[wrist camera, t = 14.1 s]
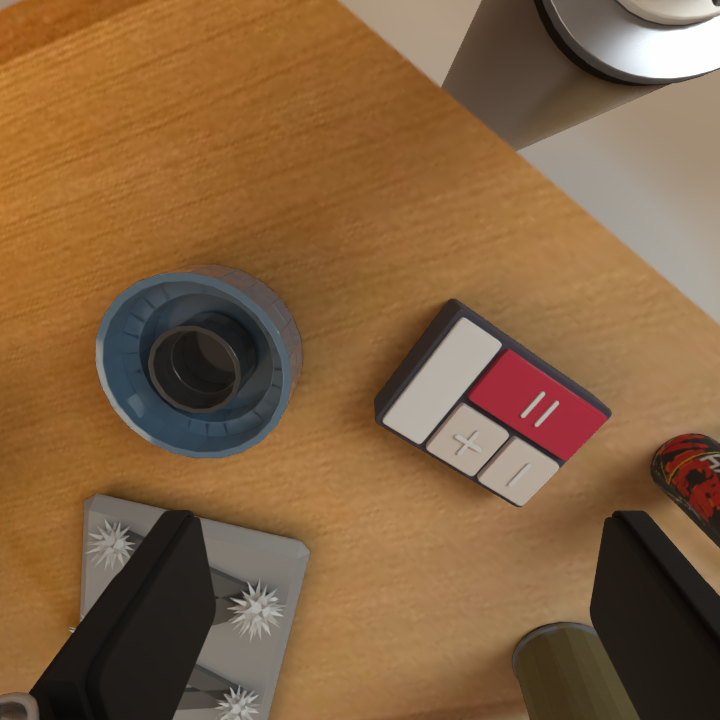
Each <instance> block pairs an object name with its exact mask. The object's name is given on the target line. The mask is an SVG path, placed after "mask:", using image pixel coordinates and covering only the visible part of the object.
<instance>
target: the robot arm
mask: <svg viewBox="0 0 720 720" xmlns="http://www.w3.org/2000/svg"><path fill="white" fill-rule="evenodd" d="M617 1H619V2H620V3H621V4H622V5H623V6H624V7H625V8H626V9H627V10H629V11H630V12H632V13H634V14H636V15H638V16H639V17H641V18H643V19H645V20H648V21H652V22H656V23H660V24H664V25H686V24H691V23H696V22H701V21H706V20H708V19H711V18H713V17H715V16H718V15H720V0H617ZM215 613H216V599H215V594H214V589H213V584H212V578H211V573H210V568H209V562H208V557H207V552H206V547H205V541H204V536H203V531H202V525H201V521H200V518H199V517H194V515H193V513H192V511H189V510H167V511H165V512H164V513H163V514H162V515H161V516H160V518H159V519H158V520H157V522H156V523H155V524H154V526H153V527H152V529H151V530H150V531H149V533H148V534H147V535H146V537H145V538H144V540H143V541H142V542H141V544H140V545H139V546H138V548H137V549H136V551H135V552H134V553H133V555H132V556H131V557H130V559H129V560H128V562H127V563H126V564H125V566H124V567H123V568H122V570H121V571H120V572H119V573H118V574H117V575H116V576H115V577H114V578H113V579H112V580H111V582H110V583H109V584H108V586H107V587H106V589H105V590H104V591H103V593H102V594H101V595H100V597H99V598H98V599H97V601H96V602H95V604H94V605H93V606H92V608H91V609H90V610H89V612H88V613H87V614H86V616H85V617H84V619H83V620H82V621H81V623H80V624H79V625H78V627H77V628H76V629H75V631H74V632H73V633H72V635H71V636H70V638H69V639H68V640H67V642H66V643H65V644H64V646H63V647H62V648H61V650H60V651H59V653H58V654H57V655H56V657H55V658H54V659H53V661H52V662H51V663H50V665H49V666H48V668H47V669H46V670H45V672H44V673H43V674H42V676H41V677H40V678H39V680H38V681H37V682H36V684H35V685H34V687H33V688H32V689H31V691H30V692H29V693H22V692H13V693H8V694H2V695H0V720H173V717H174V715H175V712H176V710H177V708H178V705H179V703H180V700H181V698H182V695H183V693H184V691H185V688H186V686H187V683H188V681H189V679H190V676H191V674H192V671H193V669H194V667H195V664H196V662H197V659H198V657H199V655H200V652H201V650H202V647H203V645H204V642H205V640H206V638H207V635H208V633H209V630H210V628H211V626H212V623H213V621H214V618H215ZM590 616H591V620H592V624H593V626H594V628H595V630H596V632H597V634H598V636H599V638H600V640H601V642H602V644H603V646H604V648H605V650H606V652H607V654H608V656H609V658H610V660H611V662H612V664H613V666H614V668H615V670H616V672H617V674H618V676H619V678H620V680H621V682H622V684H623V686H624V688H625V690H626V692H627V694H628V696H629V698H630V700H631V702H632V704H633V706H634V708H635V710H636V712H637V714H638V716H639V718H640V720H720V596H719V595H718V594H717V593H716V592H715V590H714V589H713V588H712V587H711V586H710V585H709V584H708V583H707V582H706V581H705V580H704V579H703V577H702V576H701V575H700V574H699V573H698V572H697V570H696V569H695V568H694V567H693V566H692V565H691V563H690V562H689V561H688V560H687V559H686V558H685V557H684V555H683V554H682V553H681V552H680V551H679V550H678V548H677V547H676V546H675V545H674V544H673V543H672V541H671V540H670V539H669V538H668V537H667V536H666V535H665V533H664V532H663V531H662V530H661V529H660V528H659V526H658V525H657V524H656V523H655V522H654V521H653V519H652V518H651V517H650V516H649V515H648V514H647V513H646V512H644V511H614V513H613V514H612V517H608V518H606V519H605V522H604V527H603V533H602V539H601V545H600V551H599V557H598V563H597V569H596V575H595V580H594V586H593V592H592V598H591V604H590Z"/></svg>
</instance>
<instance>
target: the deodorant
mask: <svg viewBox="0 0 720 720" xmlns="http://www.w3.org/2000/svg"><path fill="white" fill-rule="evenodd" d="M651 475H652V478H653V480H654V482H655V483H656V484H657V485H658V486H659V487H660V488H661V489H662V490H663V491H664V492H665V493H666V494H667V495H668V496H669V497H670V498H671V499H672V500H673V501H674V502H675V503H676V504H677V505H678V506H679V507H680V508H681V509H682V510H683V511H684V512H685V514H686V515H687V516H688V517H689V518H690V519H691V520H692V521H693V522H694V523H695V524H696V525H697V526H698V527H699V528H700V529H701V530H702V531H703V532H704V533H705V534H706V535H707V536H708V537H709V538H710V539H711V540H712V541H713V542H714V543H715V544H716V545H717V546H718V547H719V548H720V443H718V442H717V441H715V440H714V439H712V438H710V437H709V436H705V435H702V434H686V435H681V436H678V437H676V438H673V439H671V440H670V441H668V442H667V443H665V444H664V445H663V446H662V447H661V448H660V449H659V450H658V451H657V452H656V454H655V456H654V457H653V459H652V463H651Z"/></svg>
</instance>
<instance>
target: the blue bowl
mask: <svg viewBox="0 0 720 720" xmlns="http://www.w3.org/2000/svg"><path fill="white" fill-rule="evenodd" d="M203 313H217V314H220V315H223V316H226V317H228V318H231V319H233V320H234V321H236V322H237V323H238V324H239V325H240V326H241V327H243V328H244V329H245V330H246V332H247V333H248V335H249V337H250V339H251V341H252V342H253V344H254V347H255V355H256V364H255V367H254V370H253V374H252V376H251V377H250V379H249V380H248V381H247V382H246V384H245V385H244V386H243V387H242V389H241V390H240V391H239V393H238V394H237V395H236V396H235V397H234V398H233V399H232V401H231V402H230V403H229V404H228V405H227V406H226V407H224V408H221V409H219V410H217V411H214V412H212V413H191V412H188V411H185V410H182V409H179V408H176V407H175V406H173V405H172V404H171V403H170V402H168V401H167V400H166V399H165V398H163V397H162V396H161V395H160V393H159V392H158V390H157V389H156V387H155V385H154V384H153V382H152V380H151V377H150V372H149V367H148V360H149V355H150V351H151V347H152V345H153V344H154V343H155V341H156V340H157V339H158V338H159V336H160V335H161V334H162V333H164V332H165V331H167V330H169V329H171V328H172V327H174V326H176V325H178V324H180V323H181V322H183V321H185V320H187V319H189V318H191V317H193V316H195V315H197V314H203ZM95 363H96V367H97V371H98V376H99V380H100V384H101V386H102V388H103V390H104V392H105V394H106V396H107V398H108V400H109V402H110V404H111V406H112V407H113V409H114V410H115V411H116V413H117V414H118V415H119V416H120V417H121V418H122V420H123V421H124V422H125V423H126V424H127V425H128V426H129V427H130V428H131V429H132V430H133V431H135V432H136V433H137V434H139V435H140V436H141V437H143V438H144V439H145V440H147V441H148V442H150V443H152V444H154V445H156V446H158V447H160V448H162V449H164V450H167V451H169V452H171V453H174V454H178V455H183V456H187V457H192V458H223V457H227V456H231V455H234V454H238V453H242V452H244V451H245V450H247V449H249V448H251V447H252V446H254V445H256V444H258V443H259V442H261V441H262V440H263V439H264V438H265V437H266V436H267V435H268V434H269V433H270V432H271V431H272V430H273V429H274V428H275V427H276V426H277V424H278V422H279V420H280V419H281V417H282V415H283V413H284V411H285V409H286V407H287V405H288V403H289V401H290V399H291V397H292V395H293V393H294V391H295V389H296V387H297V385H298V383H299V379H300V374H301V369H302V364H303V354H302V342H301V337H300V334H299V332H298V329H297V326H296V323H295V321H294V318H293V316H292V315H291V313H290V312H289V310H288V309H287V307H286V306H285V304H284V303H283V302H282V300H281V299H280V298H279V296H278V295H277V294H275V293H274V292H273V291H272V290H271V289H270V288H269V287H267V286H266V285H265V284H264V283H263V282H262V281H260V280H258V279H256V278H254V277H252V276H251V275H249V274H247V273H245V272H243V271H241V270H239V269H235V268H231V267H227V266H222V265H218V264H198V265H189V266H185V267H182V268H179V269H175V270H172V271H168V272H165V273H161V274H158V275H155V276H152V277H149V278H146V279H143V280H140V281H138V282H136V283H135V284H133V285H132V286H131V287H129V288H128V289H126V290H125V291H124V292H122V293H121V294H119V295H118V296H117V297H116V299H115V300H114V301H113V303H112V304H111V306H110V307H109V308H108V310H107V311H106V312H105V314H104V316H103V318H102V321H101V324H100V327H99V330H98V333H97V336H96V354H95Z"/></svg>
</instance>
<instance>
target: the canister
mask: <svg viewBox="0 0 720 720" xmlns="http://www.w3.org/2000/svg"><path fill="white" fill-rule="evenodd" d="M512 666H513V671H514V674H515V676H516V677H517V679H518V680H519V683H520V686H521V690H522V693H523V697H524V700H525V704H526V707H527V711H528V714H529V718H530V720H640V718H639V716H638V714H637V712H636V710H635V708H634V706H633V704H632V702H631V700H630V698H629V696H628V694H627V692H626V690H625V688H624V686H623V684H622V682H621V680H620V678H619V676H618V674H617V672H616V670H615V668H614V666H613V664H612V662H611V660H610V658H609V656H608V654H607V652H606V650H605V648H604V646H603V644H602V642H601V640H600V638H599V636H598V634H597V632H596V630H595V629H594V628H592V627H589V626H586V625H582V624H579V623H565V622H564V623H557V624H550V625H546V626H544V627H541V628H539V629H537V630H535V631H533V632H531V633H530V634H529V635H527V636H526V637H524V638H523V639H522V640H521V641H520V643H519V644H518V646H517V648H516V649H515V651H514V654H513V657H512Z"/></svg>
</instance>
